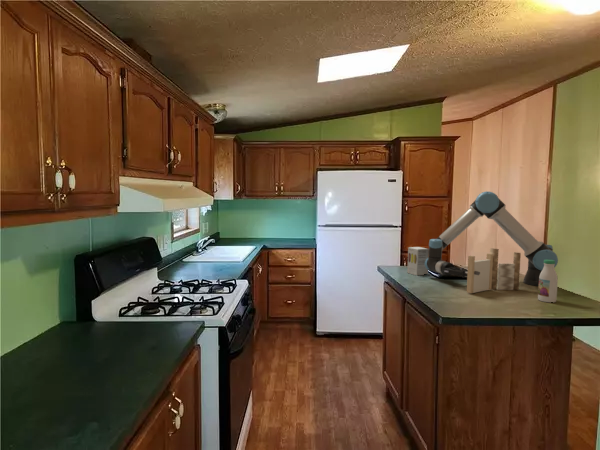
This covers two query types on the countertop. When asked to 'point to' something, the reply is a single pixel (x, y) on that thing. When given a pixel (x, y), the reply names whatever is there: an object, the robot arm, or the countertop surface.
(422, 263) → the supplement box
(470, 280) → the gate
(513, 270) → the gate post and fence
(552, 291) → the milk bottle
